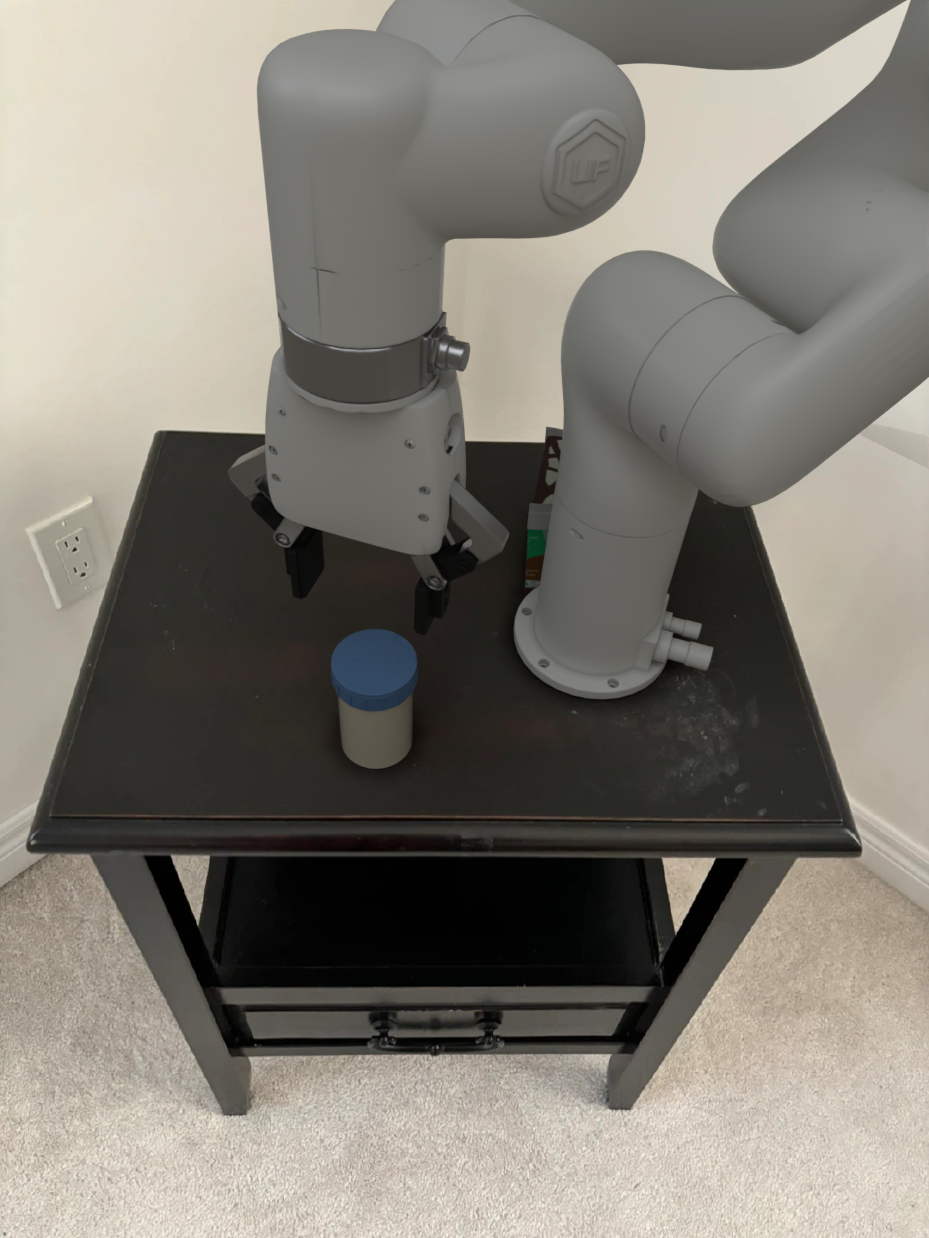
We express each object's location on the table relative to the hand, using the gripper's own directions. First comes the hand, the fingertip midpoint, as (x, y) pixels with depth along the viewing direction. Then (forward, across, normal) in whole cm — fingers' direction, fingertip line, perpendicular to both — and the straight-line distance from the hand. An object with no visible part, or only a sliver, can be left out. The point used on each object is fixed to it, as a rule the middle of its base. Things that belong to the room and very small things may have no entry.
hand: (368, 599), depth 57 cm
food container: (+15, -9, -23) cm, 29 cm away
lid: (+6, 0, 0) cm, 6 cm away
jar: (+15, 0, 0) cm, 15 cm away
